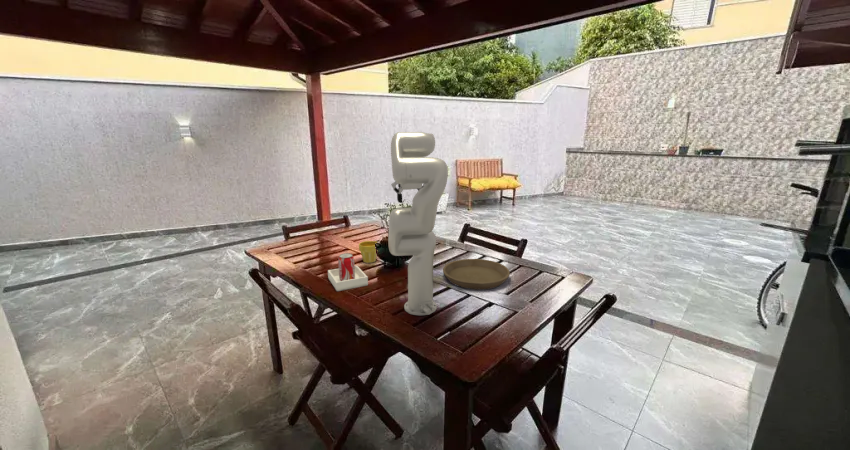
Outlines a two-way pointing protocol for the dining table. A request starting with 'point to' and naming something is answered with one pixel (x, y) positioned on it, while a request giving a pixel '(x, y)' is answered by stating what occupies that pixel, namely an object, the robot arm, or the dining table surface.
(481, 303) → the dining table surface
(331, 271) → the tray
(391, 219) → the robot arm
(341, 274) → the soda can
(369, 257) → the plant pot
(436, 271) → the dining table surface
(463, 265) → the plant saucer
